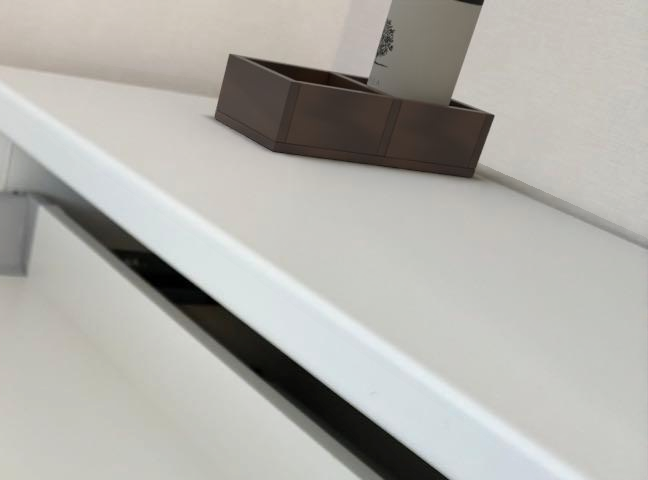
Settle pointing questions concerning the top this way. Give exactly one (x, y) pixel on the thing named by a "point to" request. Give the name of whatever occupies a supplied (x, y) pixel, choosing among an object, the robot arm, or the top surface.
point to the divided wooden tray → (348, 118)
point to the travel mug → (424, 48)
